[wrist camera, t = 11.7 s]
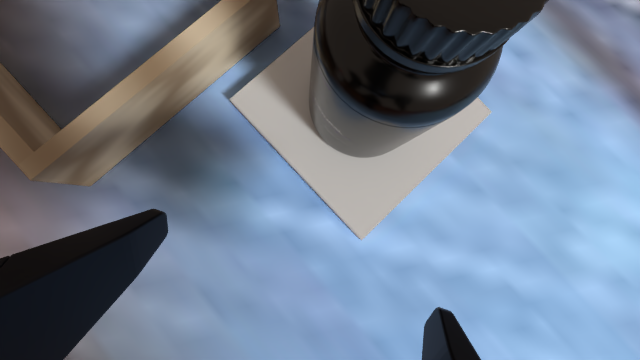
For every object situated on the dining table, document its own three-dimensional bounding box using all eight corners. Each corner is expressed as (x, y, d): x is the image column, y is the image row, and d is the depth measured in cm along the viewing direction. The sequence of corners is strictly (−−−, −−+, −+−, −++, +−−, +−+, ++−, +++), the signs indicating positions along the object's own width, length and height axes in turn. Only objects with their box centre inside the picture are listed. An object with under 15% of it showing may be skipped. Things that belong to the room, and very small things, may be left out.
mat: (358, 238, 19) (361, 240, 18) (233, 104, 19) (229, 99, 18) (482, 116, 20) (491, 112, 19) (362, -7, 20) (365, -18, 19)
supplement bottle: (290, 132, 18) (264, -12, 6) (335, 39, 19) (391, -249, 7) (388, 179, 18) (551, 127, 6) (430, 85, 19) (648, -122, 7)
